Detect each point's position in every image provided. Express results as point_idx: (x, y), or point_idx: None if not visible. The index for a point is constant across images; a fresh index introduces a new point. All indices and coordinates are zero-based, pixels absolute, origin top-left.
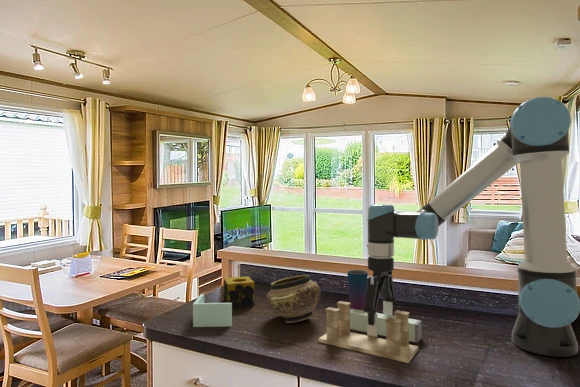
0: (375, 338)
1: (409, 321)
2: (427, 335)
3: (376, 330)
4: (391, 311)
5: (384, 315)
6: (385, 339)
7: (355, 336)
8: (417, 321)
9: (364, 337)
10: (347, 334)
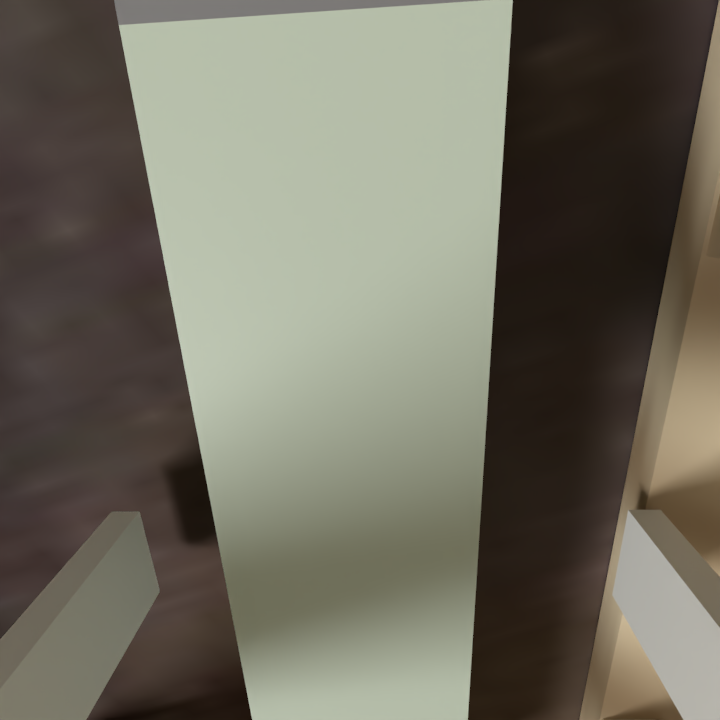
0: (679, 504)
1: (366, 206)
2: (94, 19)
3: (709, 568)
4: (33, 651)
5: (303, 675)
6: (667, 410)
7: None
8: (245, 11)
9: None
10: (673, 717)
